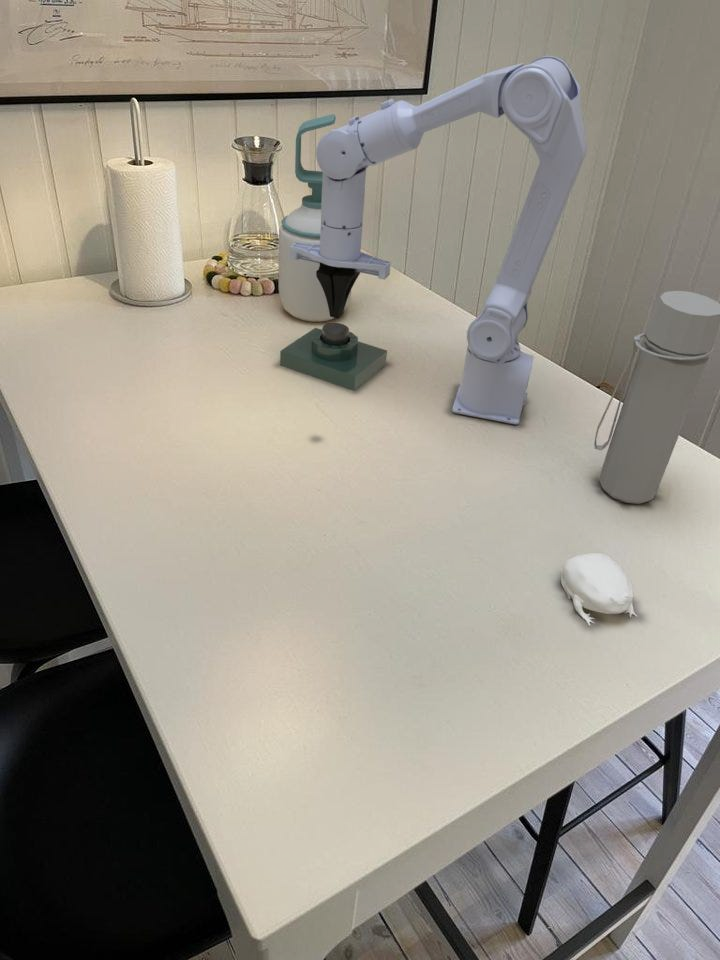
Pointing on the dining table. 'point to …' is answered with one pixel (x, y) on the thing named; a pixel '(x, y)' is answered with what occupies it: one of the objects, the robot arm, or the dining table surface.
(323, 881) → the dining table surface
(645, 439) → the water bottle
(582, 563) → the chubby white toad
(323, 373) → the green push button box
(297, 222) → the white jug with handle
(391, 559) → the dining table surface
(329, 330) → the dark grey push button
